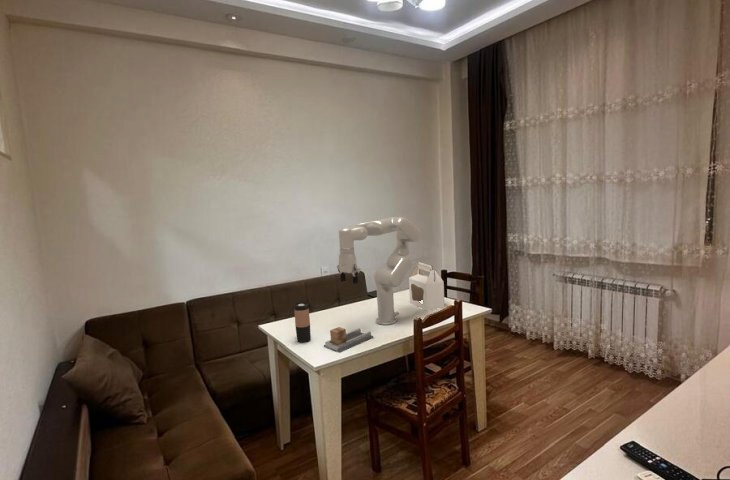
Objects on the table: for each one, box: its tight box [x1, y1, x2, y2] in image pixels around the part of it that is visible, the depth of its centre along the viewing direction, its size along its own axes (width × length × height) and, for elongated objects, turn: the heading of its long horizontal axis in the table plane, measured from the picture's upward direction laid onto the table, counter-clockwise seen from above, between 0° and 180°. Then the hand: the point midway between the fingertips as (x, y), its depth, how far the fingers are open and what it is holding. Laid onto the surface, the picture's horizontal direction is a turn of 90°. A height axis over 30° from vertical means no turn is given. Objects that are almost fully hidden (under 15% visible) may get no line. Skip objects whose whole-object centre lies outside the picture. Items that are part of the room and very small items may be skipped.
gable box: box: [408, 261, 445, 312], centre depth 253 cm, size 22×13×28 cm, turn 22°
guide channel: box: [323, 328, 374, 354], centre depth 200 cm, size 24×12×3 cm, turn 136°
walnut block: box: [329, 326, 347, 345], centre depth 194 cm, size 6×5×8 cm
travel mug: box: [293, 301, 312, 344], centre depth 204 cm, size 8×8×20 cm
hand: (349, 282), depth 210 cm, fingers open, 9 cm apart
